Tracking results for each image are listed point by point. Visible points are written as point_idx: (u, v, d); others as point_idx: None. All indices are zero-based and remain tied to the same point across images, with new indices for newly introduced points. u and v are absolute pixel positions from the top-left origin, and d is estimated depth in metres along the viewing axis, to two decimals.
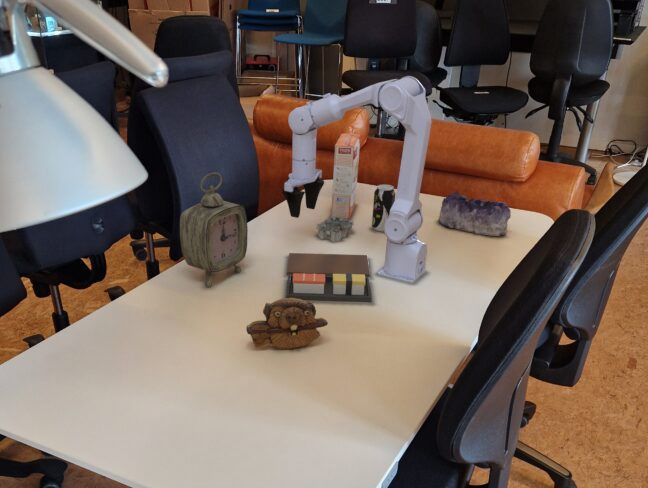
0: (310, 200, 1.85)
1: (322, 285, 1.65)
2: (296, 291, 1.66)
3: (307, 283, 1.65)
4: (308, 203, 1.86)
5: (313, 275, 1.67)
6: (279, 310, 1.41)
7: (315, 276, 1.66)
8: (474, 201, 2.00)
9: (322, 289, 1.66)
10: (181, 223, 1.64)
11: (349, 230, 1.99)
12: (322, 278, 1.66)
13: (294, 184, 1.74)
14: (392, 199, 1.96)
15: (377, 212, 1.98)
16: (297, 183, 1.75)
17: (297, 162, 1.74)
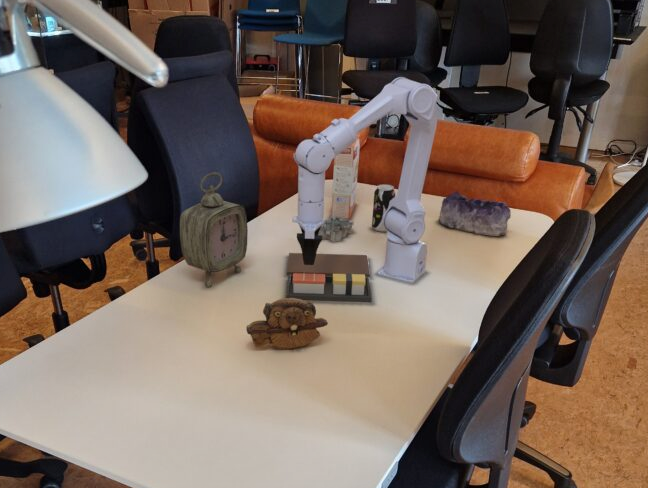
0: None
1: (322, 285, 1.65)
2: (296, 291, 1.66)
3: (307, 283, 1.65)
4: None
5: (313, 275, 1.67)
6: (279, 310, 1.41)
7: (315, 276, 1.66)
8: (474, 201, 2.00)
9: (322, 289, 1.66)
10: (181, 223, 1.64)
11: (349, 230, 1.99)
12: (322, 278, 1.66)
13: (315, 229, 1.54)
14: None
15: (377, 212, 1.98)
16: (316, 227, 1.55)
17: (310, 204, 1.54)
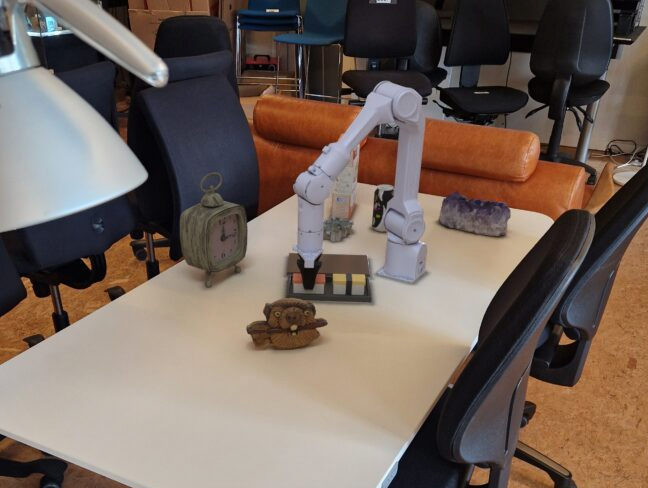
0: None
1: (322, 285, 1.65)
2: (296, 291, 1.66)
3: None
4: None
5: None
6: (279, 310, 1.41)
7: None
8: (474, 201, 2.00)
9: (322, 289, 1.66)
10: (181, 223, 1.64)
11: (349, 230, 1.99)
12: (322, 278, 1.65)
13: (314, 258, 1.57)
14: None
15: (377, 212, 1.98)
16: (315, 257, 1.58)
17: (309, 234, 1.58)
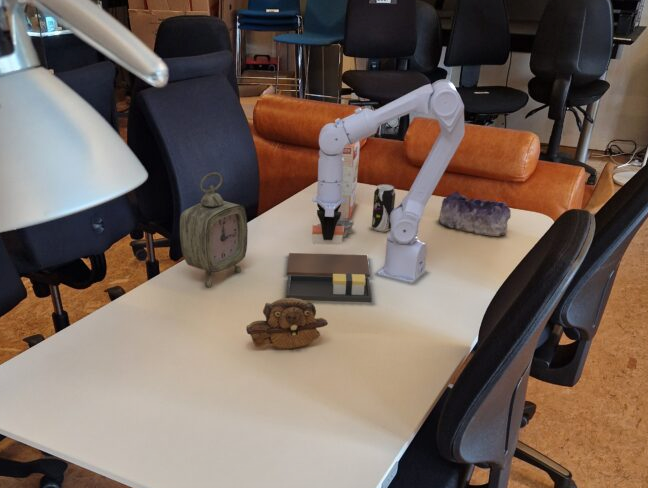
0: None
1: (341, 236, 1.71)
2: (315, 242, 1.73)
3: None
4: None
5: None
6: (279, 310, 1.41)
7: None
8: (474, 201, 2.00)
9: (341, 240, 1.72)
10: (181, 223, 1.64)
11: (349, 230, 1.99)
12: (341, 229, 1.72)
13: (334, 208, 1.64)
14: (392, 199, 1.96)
15: (377, 212, 1.98)
16: (335, 206, 1.64)
17: (329, 184, 1.64)
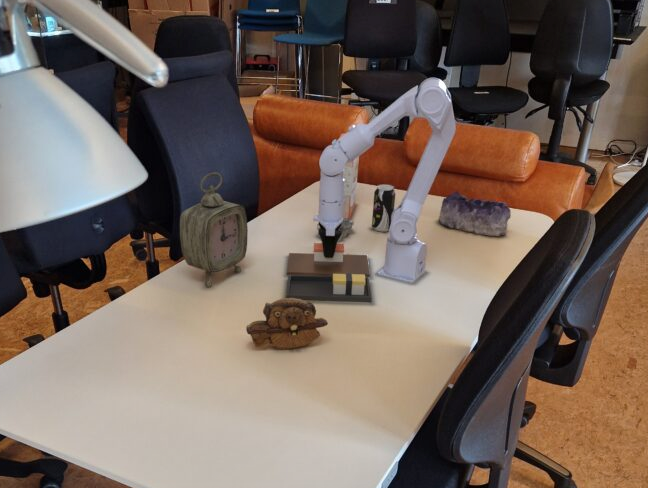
0: None
1: (341, 253, 1.75)
2: (317, 259, 1.77)
3: None
4: None
5: None
6: (279, 310, 1.41)
7: None
8: (474, 201, 2.00)
9: (341, 257, 1.76)
10: (181, 223, 1.64)
11: (349, 230, 1.99)
12: (341, 247, 1.76)
13: (335, 227, 1.68)
14: (392, 199, 1.96)
15: (377, 212, 1.98)
16: (336, 225, 1.68)
17: (330, 204, 1.68)
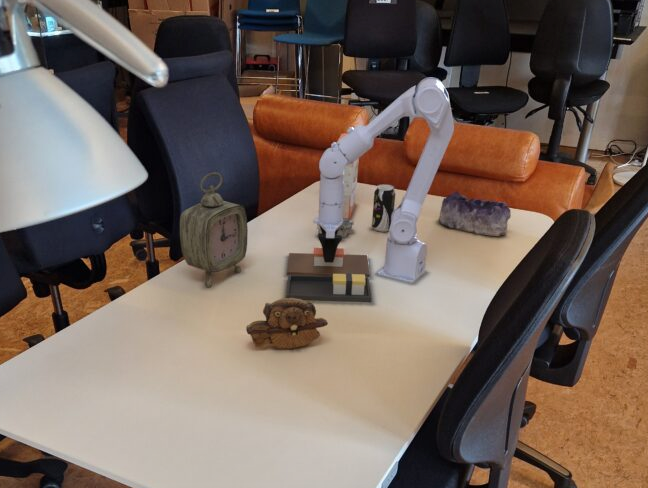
0: None
1: (341, 258, 1.76)
2: (317, 264, 1.77)
3: None
4: None
5: None
6: (279, 310, 1.41)
7: None
8: (474, 201, 2.00)
9: (341, 262, 1.77)
10: (181, 223, 1.64)
11: (349, 230, 1.99)
12: (341, 252, 1.77)
13: (335, 229, 1.68)
14: (392, 199, 1.96)
15: (377, 212, 1.98)
16: (336, 228, 1.69)
17: (330, 207, 1.68)
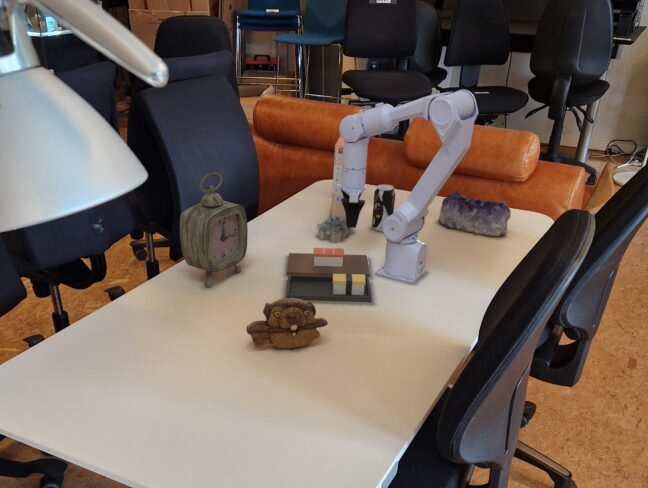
0: None
1: (341, 258, 1.76)
2: (317, 264, 1.77)
3: (327, 256, 1.76)
4: None
5: (332, 249, 1.78)
6: (279, 310, 1.41)
7: (334, 250, 1.78)
8: (474, 201, 2.00)
9: (341, 262, 1.77)
10: (181, 223, 1.64)
11: (349, 230, 1.99)
12: (341, 252, 1.77)
13: (358, 194, 1.70)
14: (392, 199, 1.96)
15: (377, 212, 1.98)
16: (359, 192, 1.71)
17: (354, 171, 1.71)
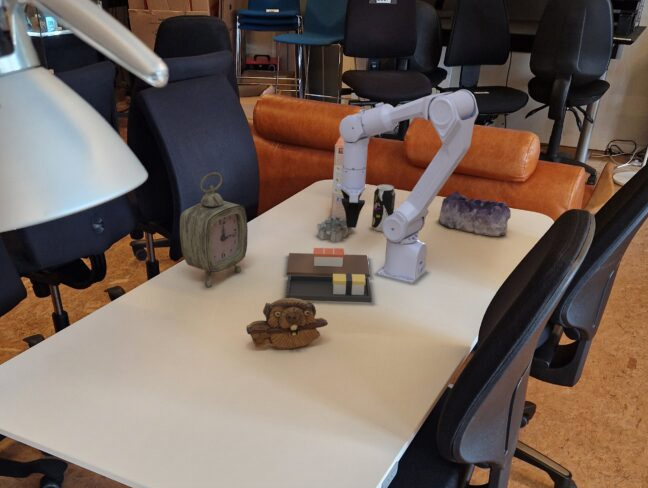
0: None
1: (341, 258, 1.76)
2: (317, 264, 1.77)
3: (327, 256, 1.76)
4: None
5: (332, 249, 1.78)
6: (279, 310, 1.41)
7: (334, 250, 1.78)
8: (474, 201, 2.00)
9: (341, 262, 1.77)
10: (181, 223, 1.64)
11: (349, 230, 1.99)
12: (341, 252, 1.77)
13: (358, 194, 1.70)
14: (392, 199, 1.96)
15: (377, 212, 1.98)
16: (359, 192, 1.71)
17: (354, 171, 1.71)
